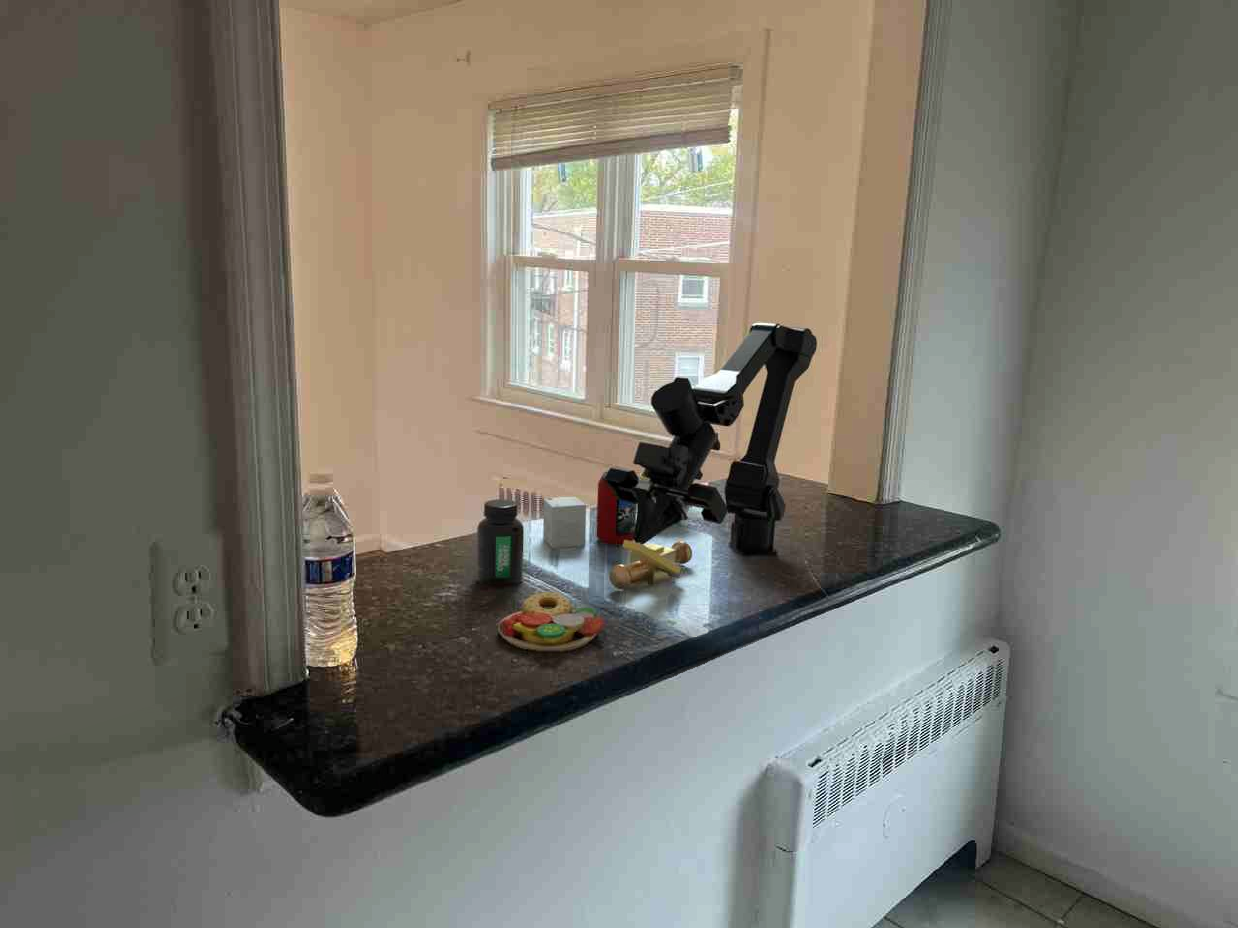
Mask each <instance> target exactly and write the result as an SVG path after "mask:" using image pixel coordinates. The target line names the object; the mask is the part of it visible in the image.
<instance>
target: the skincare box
mask: <svg viewBox="0 0 1238 928" xmlns="http://www.w3.org/2000/svg"><path fill="white" fill-rule="evenodd" d="M586 521H587V505H586V504H585V503H584V502H583V501H582V500H581V499H579V498H578V497H577V496H563V497H549V498H547V497H546V498H543V525H542V526H543V527H542V528H543V530H542V531H543V534H542V539H543V540H544V541H545V542H546V543H547V544H548V545H549V546H550V547H551V548H552V549H560V548H574V547H585V546H586V538H587V537H586V531H587V530H586V529H587V527H586V525H587V522H586Z"/></svg>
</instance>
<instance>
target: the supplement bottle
mask: <svg viewBox="0 0 1238 928" xmlns="http://www.w3.org/2000/svg"><path fill="white" fill-rule="evenodd" d="M483 506H484V507H483V509H484V510H483V516H484V517H485V518H483V519H481V520H480V521H479V522H478V525H477V526H476V527H477V528H476V529H477V531H476V535H477V536H476V541H477V542H476V578H477V579H476V580H477V581H478V582H479V584H481V585H483V586H486V587H489V588H510V587H513V586H516V585H518V584H520V583H521V582H522V581H523V578H524V534H525V533H524V525H523V522H522V521H520V520H519V519H518V518H517V517H518V503H517V502H516V501H514V500H511V499H503V498H502V499H491V500H487V501H485V502H484V504H483Z"/></svg>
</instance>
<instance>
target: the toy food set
mask: <svg viewBox="0 0 1238 928" xmlns="http://www.w3.org/2000/svg"><path fill="white" fill-rule="evenodd" d="M596 611H597V610H595V609H594V608H590V607H582V608H578V609H577V610H574V609H573V607H572V604H571V602H570V600H569V599H568V598H567V597H566V596H564V595H562V594H559V593H556V592H544V591H543V592H539V593H534V594H532V595H530V596H529V597H528V598H526V599H525V600H524V602H523V604H522V610H520V611H517V612H513V613H512V614H509V615H508V616H506V617H503V619H501V621H500V622H499V624H498V632H499V634H500V636H501V637H502V638H503V639H504V640H506V642H508V643H509V642H510V643H509V644H511V645H512V644H513V645H512V646H514V645H515V647H516V646H517V647H516V648H519V647H520V648H519V649H522V648H523V649H522V650H526V649H531V650H538V651H560V652H566V651H565V650H567V651H573V650H575V649H578V648H581V647H583V646H585V645H586V644H588V643H590V641H593V639H594V638H595V637H596V636H597V634H598V633H599V632H601V631H602V630H603V628H604V627H605V622H604V620H603V619H602V618H601V617H598V616H597V612H596ZM531 650H530V651H531ZM538 651H537V652H538Z"/></svg>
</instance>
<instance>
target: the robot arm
mask: <svg viewBox="0 0 1238 928" xmlns="http://www.w3.org/2000/svg"><path fill="white" fill-rule="evenodd" d="M817 346H818V341H817V337H816V336H815V335H814V334H813V333H812V330H811V329H810V328H807V327H797V326H795V327H794V326H785V325H781V323H777V322H776V323H775V322H774V323H773V322H760V321H759V322H756V323H753V324H752V325H751V326H750V328H749V331H748V334H747V336H746V337H745V338H744V340H743V341H742V342H741V344H740V345H739V346H738V347H737V348H736V350H735V351H734V352H733V354H732V355H731V356H730V358H729V359H728V360H727V361H726V363H725V364H724V365H723V367H722V368H721V369H720V370H719V371H718V372H717V373H715V374H712V375H710V376H707V377H704V378H702V380H701V381H699V383H697V384H696V385H695V386H694V387H693V386H692V385H691V381H690V380H689V378H688V377H681V376H679V377H678V376H676V377H675V378H674V380H673V382H672V381H671V382H668V383H666V384H664V385H662V386H661V387H659V388H658V389H657V390H655V391H654V392H653V394H652V395H651V399H650V405H651V407H652V409H653V410H654V412H655V413H656V415H657V417H658V419H659V421H660V422H661V424H662V425H663V428H664V429H665V430H666V432H667V433H668V434H669V435H671V436H673V439H672V440H671V441H670V444H669V445H668V446H663V445H661V444H655V443H649V442H643V441H639V443H638V446H637V449H636V451H635V455H634V459H633V461H632V463H633V464H634V465H636V466H637V465H638V466H640V467H642V468H644V470H643V473H644V474H645V476H646V477H649V478H650V481H649V480H645V479H641V478H640V477H639V476H638V474H637V473H636V471H634V470H633V469H629V468H625V467H619V466H613V467H610V468H609V469H608V470H607V471H608V472H607V471H606V472H607V474H606V476H605V477H604V481H605V482H606V483H607V485H608V486H609V488H610V489H611V490H612V492H613V493H614V495H615V496H616V497H617V499H619V500H620V501H623V502H627V503H631V504H636V524H635V531H634V538H633V540H632V541H633V542H636V543H639V544H642V545H644V544H646V543H647V542H649V541H650V540H652V539H654V538H655V537H656V536H657V535H659V534H661V533H662V532H664V531H665V530H667V529H668V528H670V527H672V526H674V525H676V524H677V523H679V522H681V521H683V522H684V521H685V522H686V521H687V520H688V518H689V517H688V515H687V514H688V512H689V510H690V509H691V508H693V507H695V508H698V509H702V511H701V512H700V513H701V516H702V518H703V521H704V522H709V523H713V524H718V525H721V524H722V523H723V522H724V520H725V518H726V516H727V514H734V521H732V523H731V528H730V529H731V530H730V541H729V542H728V545H729V547H731V548H733V549H734V550H735V551H737V552H738V553H739V554H741V555H742V556H757V555H759V556H760V555H774V554H775V555H776V554H778V552H779V551H778V550H777V549H776V548H774V542H775V541H774V540H775V530H776V529H775V528H776V522H780V521H782V519H783V517H784V515H785V512H786V506H787V504H786V503H785V501H784V499H783V497H782V495H781V493H780V491H779V483H780V478H779V473H778V471H777V467H776V464H775V461H776V457H777V452H778V450H779V445H780V441H781V437H782V433H783V430H784V426H785V422H786V417H787V416H788V411H789V407H790V402H791V400H792V395H793V391H794V388H795V384H796V382H797V380H798V379H799V378H801V376H803V374H804V373H805V372H806V371H807V370H809V368H810V365H811V362H812V359H813V358H814V357H813V356H814V355H815V353H816V351H817ZM763 367H765V369H766V372H767V373H766V378H765V380H764V385H763V388H762V393H761V397H760V400H759V404H758V408H757V412H756V416H755V420H754V422H753V427H752V430H751V434H750V438H749V442H748V445H747V449H746V453H745V454H744V456H743V457H741V458H740V459H739V460H733V461H732V463H731V464H730V468H729V473H728V476H727V478H726V480H725V484H724V485H725V486H724V498H725V501H724V499H723V497H722V496H721V493H720V492H719V490H718V489H717V486H712V485H707V484H702V483H697V482H695V480H697V481H701V479H702V477H703V476H704V474H703V472H702V470H701V469H702V467H703V465H704V463H705V462H706V460H707V458H708V456H709V455H710V452H711V451H717V452H718V451H720V450H721V442H720V440H719V432H717V431H715V429H714V428H713V426H712V425H716V426H720V427H731V426H732V425H733V424H735V422H736V420H738V417H739V415H740V413H741V412H742V410H743V408H744V406H745V402H744V394H745V392H746V390H747V389H748V387H749V386H750V384H751V383H752V382H753V380H754V379H755V378H756V376H757V375H758V374H759V373H760V371H761V370H762V369H763ZM694 482H695V483H694Z"/></svg>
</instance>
